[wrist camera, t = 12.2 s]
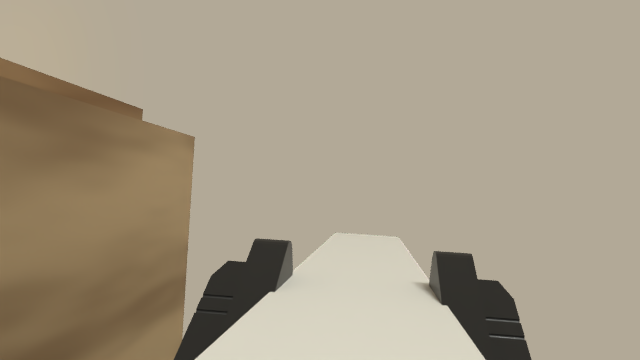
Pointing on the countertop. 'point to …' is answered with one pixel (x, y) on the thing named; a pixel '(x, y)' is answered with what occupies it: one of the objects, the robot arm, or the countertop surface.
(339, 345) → the bar
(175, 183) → the tall wood-grain block
